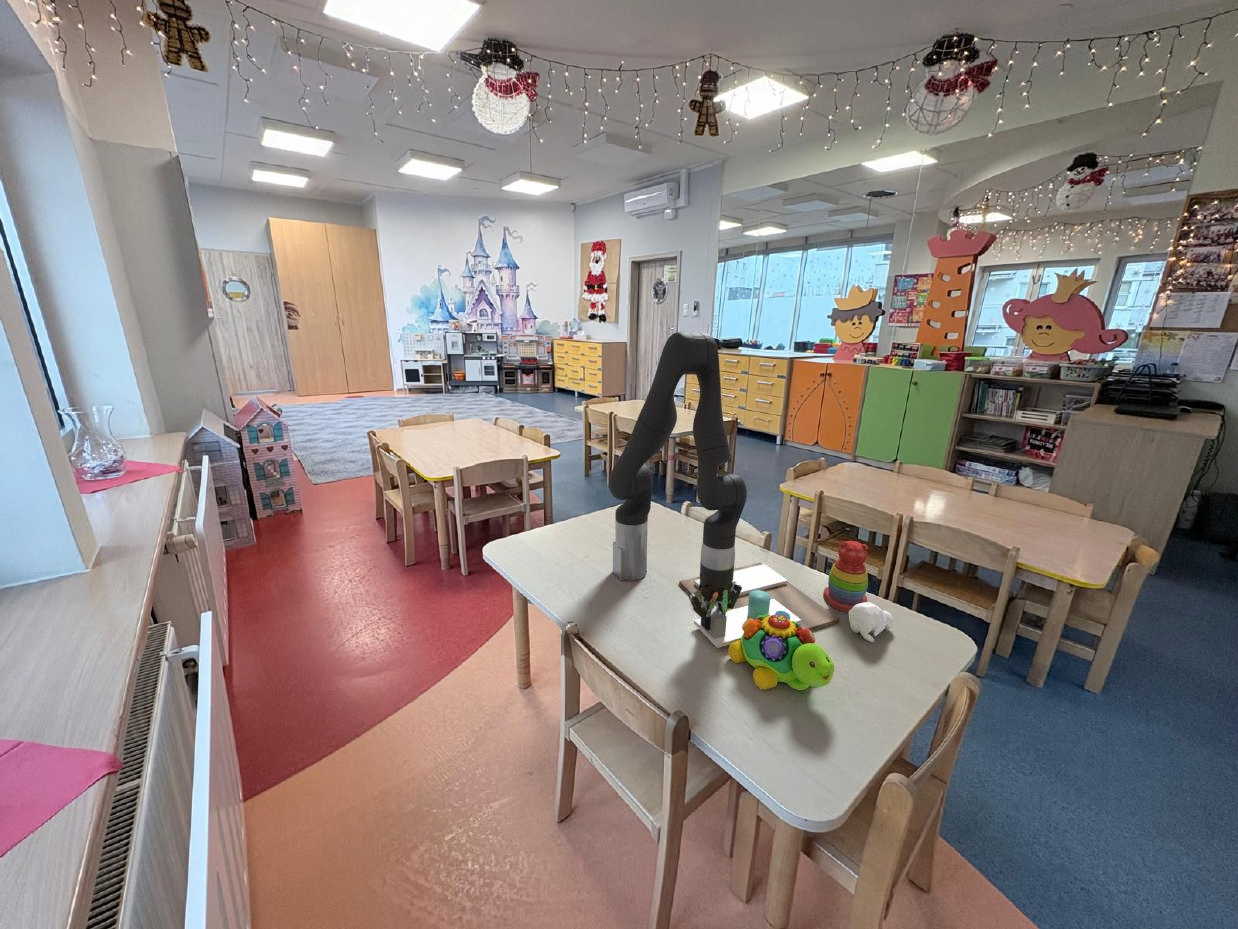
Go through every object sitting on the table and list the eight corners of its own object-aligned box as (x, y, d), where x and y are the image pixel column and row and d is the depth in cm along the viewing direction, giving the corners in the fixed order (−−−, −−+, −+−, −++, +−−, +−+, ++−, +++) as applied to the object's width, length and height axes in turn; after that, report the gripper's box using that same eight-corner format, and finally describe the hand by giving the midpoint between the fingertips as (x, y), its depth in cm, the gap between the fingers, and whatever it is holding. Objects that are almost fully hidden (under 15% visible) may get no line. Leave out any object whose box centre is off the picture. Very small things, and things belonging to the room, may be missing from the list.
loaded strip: (717, 648, 113) (718, 625, 111) (694, 623, 122) (695, 602, 120) (800, 623, 122) (803, 602, 120) (773, 602, 131) (775, 581, 129)
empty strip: (714, 602, 131) (715, 581, 129) (694, 583, 140) (695, 564, 138) (787, 583, 140) (789, 564, 138) (764, 567, 148) (765, 548, 147)
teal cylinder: (755, 625, 120) (758, 603, 118) (743, 614, 124) (745, 592, 122) (772, 620, 122) (775, 598, 120) (759, 609, 126) (761, 588, 124)
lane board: (746, 650, 114) (746, 646, 114) (679, 584, 141) (679, 581, 141) (839, 622, 125) (839, 618, 124) (759, 565, 152) (760, 562, 152)
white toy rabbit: (848, 599, 119) (882, 591, 124) (841, 631, 121) (874, 622, 126) (872, 613, 113) (906, 604, 119) (864, 646, 115) (897, 636, 121)
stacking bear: (866, 598, 135) (877, 538, 130) (867, 618, 126) (878, 554, 121) (824, 588, 139) (832, 530, 134) (821, 607, 131) (830, 546, 125)
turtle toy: (789, 724, 94) (795, 672, 91) (718, 650, 114) (721, 605, 111) (855, 698, 100) (864, 648, 97) (777, 632, 121) (782, 589, 117)
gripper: (699, 574, 107) (695, 643, 112) (753, 562, 112) (747, 628, 117) (681, 559, 113) (678, 624, 118) (733, 548, 118) (728, 611, 124)
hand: (713, 626), depth 118 cm, fingers closed on loaded strip, 3 cm apart
